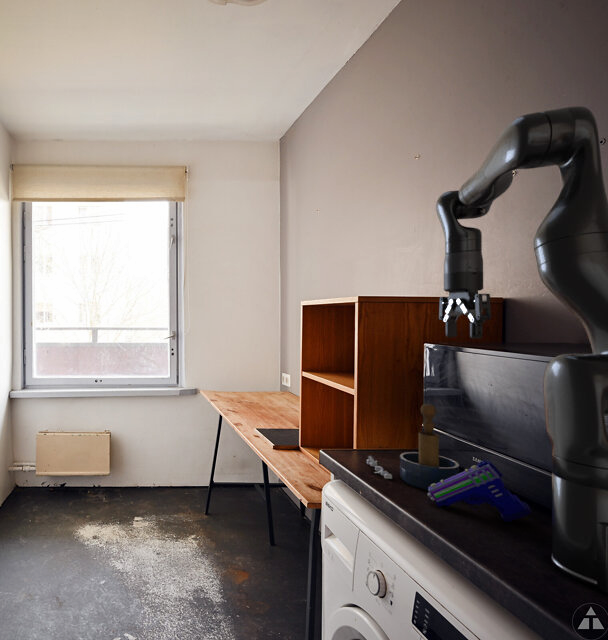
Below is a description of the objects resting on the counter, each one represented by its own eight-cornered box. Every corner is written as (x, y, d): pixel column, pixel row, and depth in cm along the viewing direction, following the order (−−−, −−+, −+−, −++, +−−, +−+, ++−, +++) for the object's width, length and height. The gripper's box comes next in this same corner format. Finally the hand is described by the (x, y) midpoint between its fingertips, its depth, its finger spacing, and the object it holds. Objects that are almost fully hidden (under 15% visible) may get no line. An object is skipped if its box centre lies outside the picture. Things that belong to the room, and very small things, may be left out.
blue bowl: (471, 494, 91) (471, 469, 91) (417, 492, 92) (417, 467, 92) (438, 475, 102) (438, 452, 102) (390, 473, 103) (390, 451, 103)
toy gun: (534, 512, 75) (489, 462, 79) (461, 539, 82) (422, 492, 85) (530, 504, 79) (487, 456, 82) (460, 530, 85) (423, 485, 89)
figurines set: (393, 479, 99) (393, 467, 99) (380, 478, 99) (380, 467, 99) (372, 462, 111) (372, 452, 111) (361, 462, 111) (361, 451, 111)
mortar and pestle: (434, 476, 100) (434, 401, 100) (453, 486, 93) (453, 407, 93) (405, 475, 100) (405, 401, 100) (422, 485, 94) (421, 406, 94)
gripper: (428, 275, 108) (428, 336, 108) (467, 268, 94) (467, 339, 94) (459, 274, 107) (459, 336, 107) (503, 267, 93) (503, 339, 93)
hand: (463, 337), depth 101 cm, fingers open, 8 cm apart
